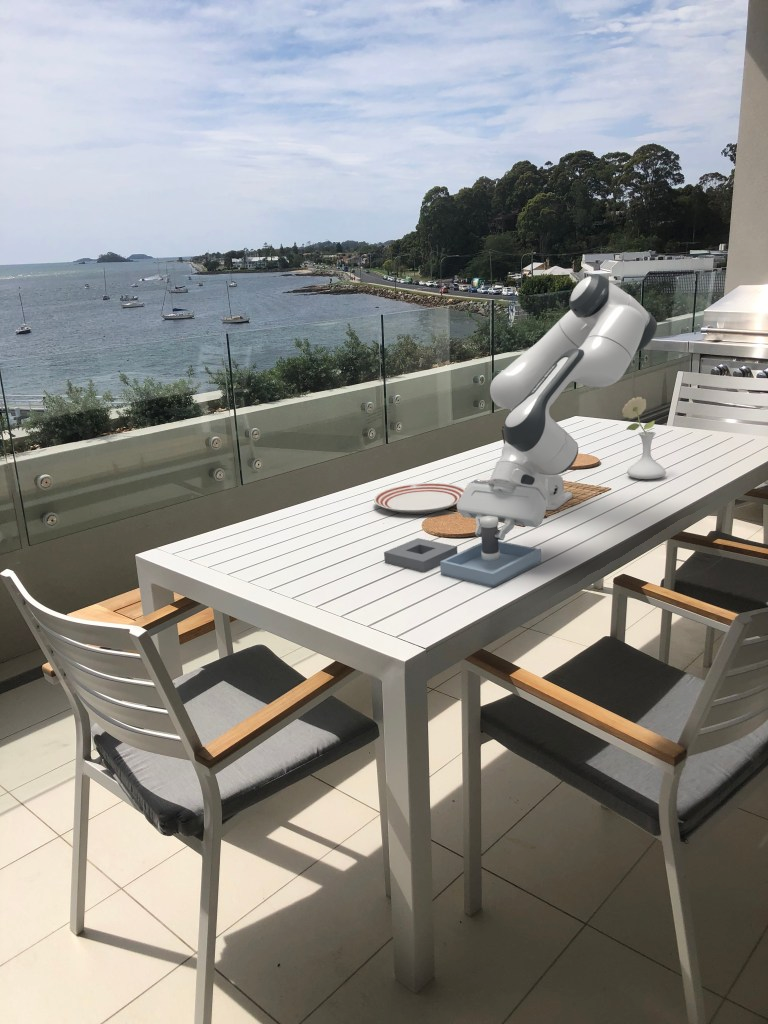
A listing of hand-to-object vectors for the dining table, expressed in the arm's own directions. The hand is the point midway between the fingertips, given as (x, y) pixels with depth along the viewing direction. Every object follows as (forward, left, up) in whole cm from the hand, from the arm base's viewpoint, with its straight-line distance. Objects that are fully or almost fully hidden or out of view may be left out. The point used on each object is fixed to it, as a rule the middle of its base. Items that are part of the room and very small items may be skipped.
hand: (488, 537), depth 165 cm
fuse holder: (+3, -17, -7) cm, 19 cm away
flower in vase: (-90, -7, -8) cm, 90 cm away
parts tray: (-1, 0, -7) cm, 7 cm away
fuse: (-1, 0, -5) cm, 5 cm away
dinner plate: (-33, -48, -8) cm, 59 cm away
